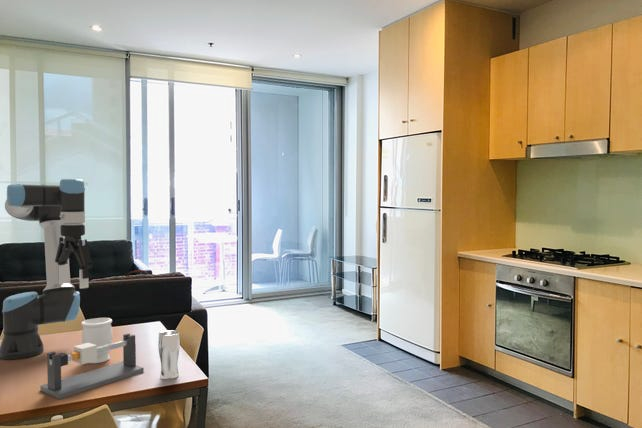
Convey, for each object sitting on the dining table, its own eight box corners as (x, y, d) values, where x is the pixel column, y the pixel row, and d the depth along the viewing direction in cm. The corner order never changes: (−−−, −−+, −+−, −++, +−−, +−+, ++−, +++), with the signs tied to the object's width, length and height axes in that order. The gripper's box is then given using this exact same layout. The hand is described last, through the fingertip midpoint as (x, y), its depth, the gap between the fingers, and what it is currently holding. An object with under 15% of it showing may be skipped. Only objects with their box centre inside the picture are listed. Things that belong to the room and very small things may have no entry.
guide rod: (48, 366, 154) (48, 356, 153) (129, 344, 176) (129, 335, 176) (53, 368, 152) (53, 358, 152) (134, 346, 174) (134, 337, 174)
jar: (101, 365, 179) (100, 324, 178) (75, 364, 181) (75, 323, 180) (118, 356, 189) (118, 317, 189) (94, 355, 191) (94, 316, 191)
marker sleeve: (73, 361, 161) (73, 346, 161) (88, 357, 165) (88, 342, 165) (82, 364, 158) (81, 348, 158) (96, 360, 162) (96, 345, 162)
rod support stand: (40, 390, 156) (39, 351, 156) (123, 365, 179) (123, 331, 179) (59, 399, 149) (58, 358, 149) (143, 371, 172) (143, 336, 172)
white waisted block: (167, 371, 173) (167, 329, 172) (184, 374, 170) (183, 331, 170) (154, 378, 166) (153, 334, 166) (171, 381, 164) (170, 336, 163)
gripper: (43, 222, 173) (44, 282, 175) (81, 226, 159) (82, 291, 160) (65, 221, 180) (66, 279, 181) (103, 225, 165) (103, 288, 166)
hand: (73, 285), depth 170 cm, fingers open, 13 cm apart
